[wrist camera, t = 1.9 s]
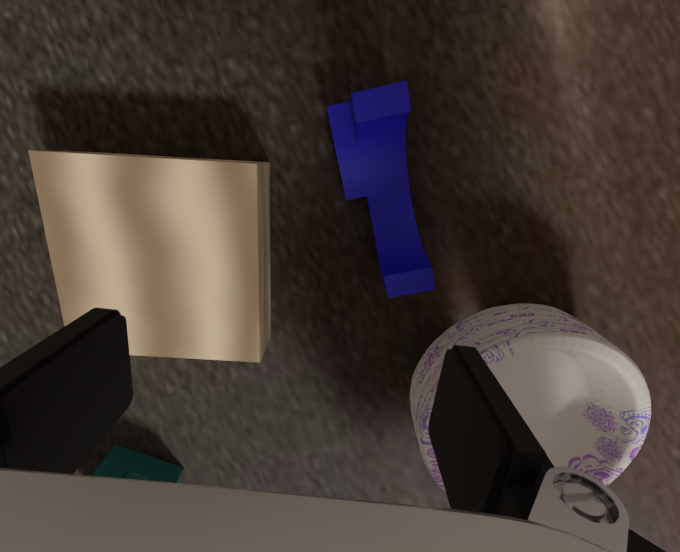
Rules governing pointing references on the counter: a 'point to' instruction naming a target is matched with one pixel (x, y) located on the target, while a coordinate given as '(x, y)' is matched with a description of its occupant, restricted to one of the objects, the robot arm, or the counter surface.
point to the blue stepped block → (382, 181)
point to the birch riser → (162, 248)
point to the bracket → (137, 466)
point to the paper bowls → (548, 386)
